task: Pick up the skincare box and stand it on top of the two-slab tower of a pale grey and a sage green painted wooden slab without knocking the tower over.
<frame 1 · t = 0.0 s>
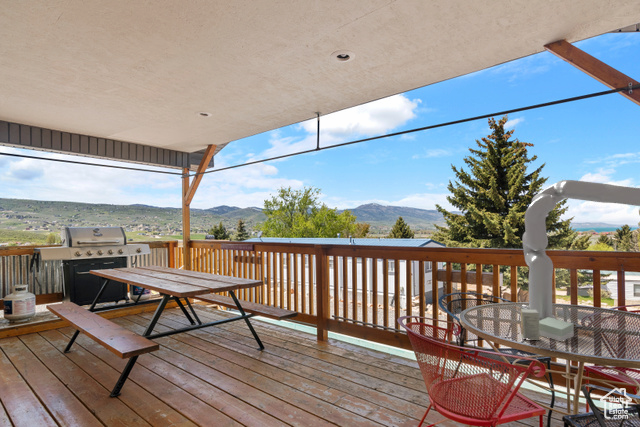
bottom slab: (554, 336, 153), on the table
skincare box: (530, 339, 151), on the table
top slab: (554, 329, 153), point 2 cm above the table
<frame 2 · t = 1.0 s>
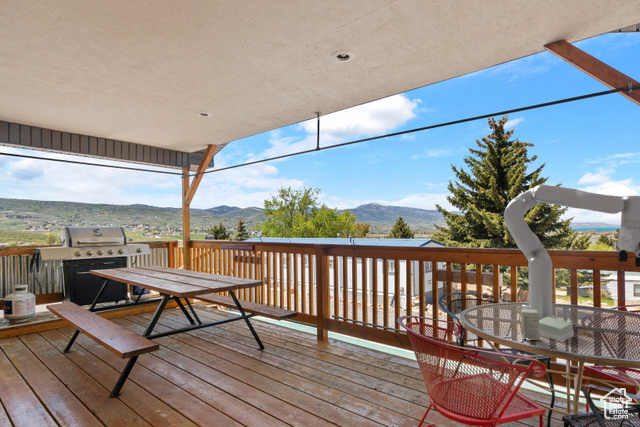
hand: (631, 263, 154), 29 cm above the table, tool pointing down, fingers open, 9 cm apart
bottom slab: (554, 336, 153), on the table, touching top slab
top slab: (553, 329, 153), point 3 cm above the table, touching bottom slab
everything else where it was.
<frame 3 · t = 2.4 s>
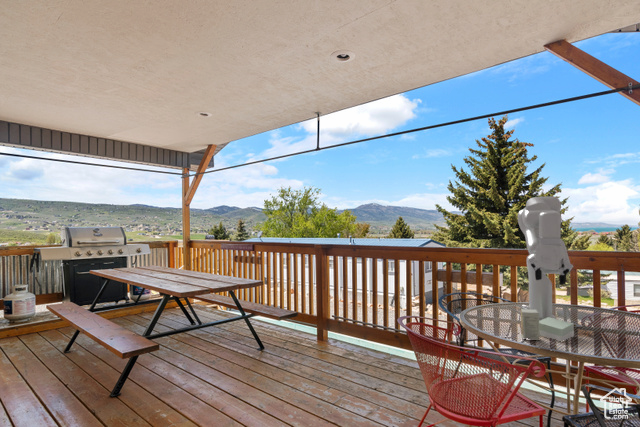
hand: (550, 281, 150), 24 cm above the table, tool pointing down, fingers open, 9 cm apart
nothing on the table moved.
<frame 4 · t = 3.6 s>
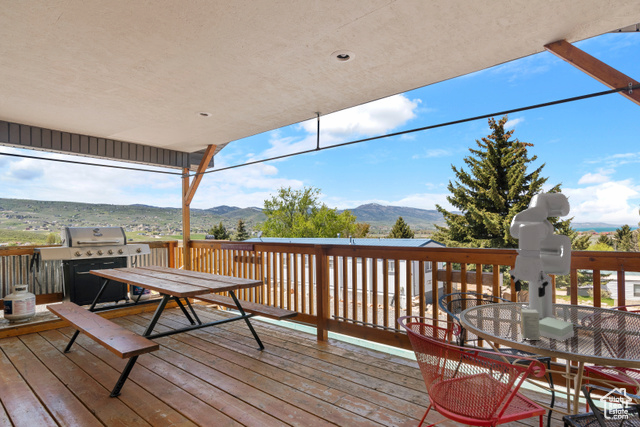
hand: (529, 293, 149), 20 cm above the table, tool pointing down, fingers open, 9 cm apart
nothing on the table moved.
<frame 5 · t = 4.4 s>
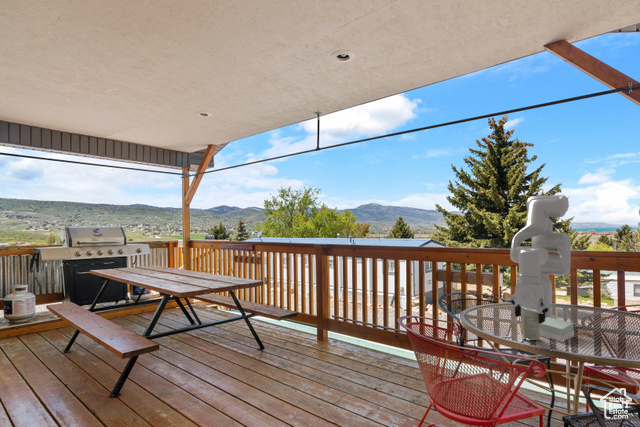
hand: (529, 319, 150), 9 cm above the table, tool pointing down, fingers open, 9 cm apart
nothing on the table moved.
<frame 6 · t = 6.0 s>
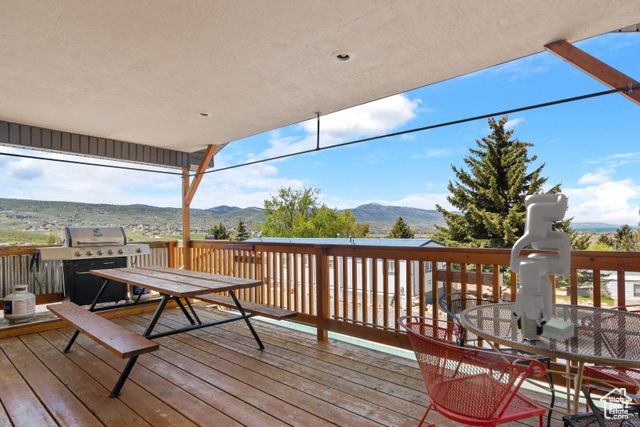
hand: (529, 331, 151), 3 cm above the table, tool pointing down, fingers closed on skincare box, 7 cm apart
skincare box: (529, 339, 151), on the table, touching gripper
everything else where it was.
when the fingers open (10 cm above the table, at t = 11.2 s): skincare box drops 2 cm, resting on top slab.
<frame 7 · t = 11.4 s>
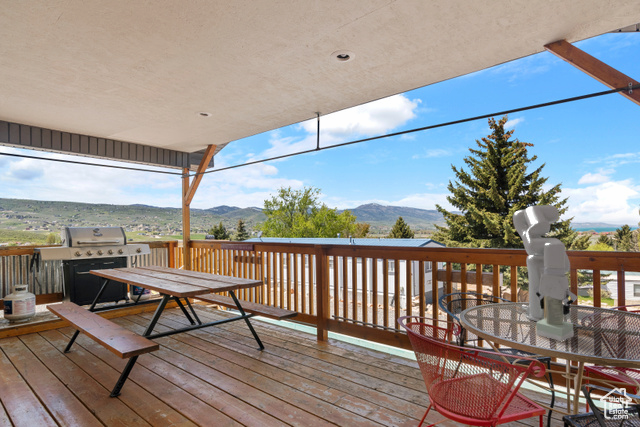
hand: (554, 310, 153), 11 cm above the table, tool pointing down, fingers open, 8 cm apart
skincare box: (553, 322, 153), point 5 cm above the table, touching gripper, top slab
top slab: (554, 329, 153), point 2 cm above the table, touching bottom slab, skincare box
everything else where it was.
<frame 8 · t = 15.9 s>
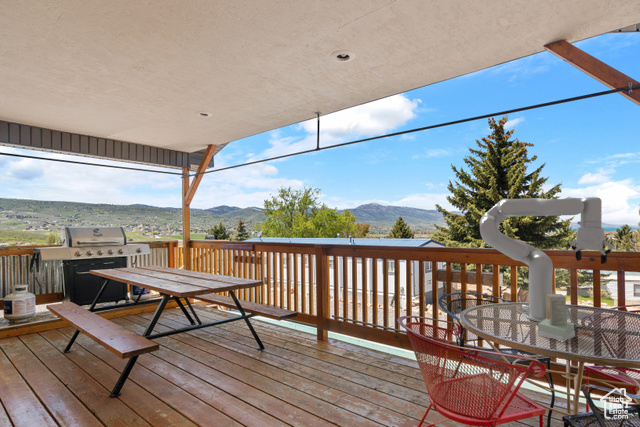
hand: (590, 261, 163), 28 cm above the table, tool pointing down, fingers open, 9 cm apart
skincare box: (555, 323, 153), point 5 cm above the table, touching top slab
at the end: skincare box 0.2 cm off-centre on the top slab, point 2.9 cm above the top slab's base; skincare box tilted 1°; top slab moved 0.8 cm from its start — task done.
